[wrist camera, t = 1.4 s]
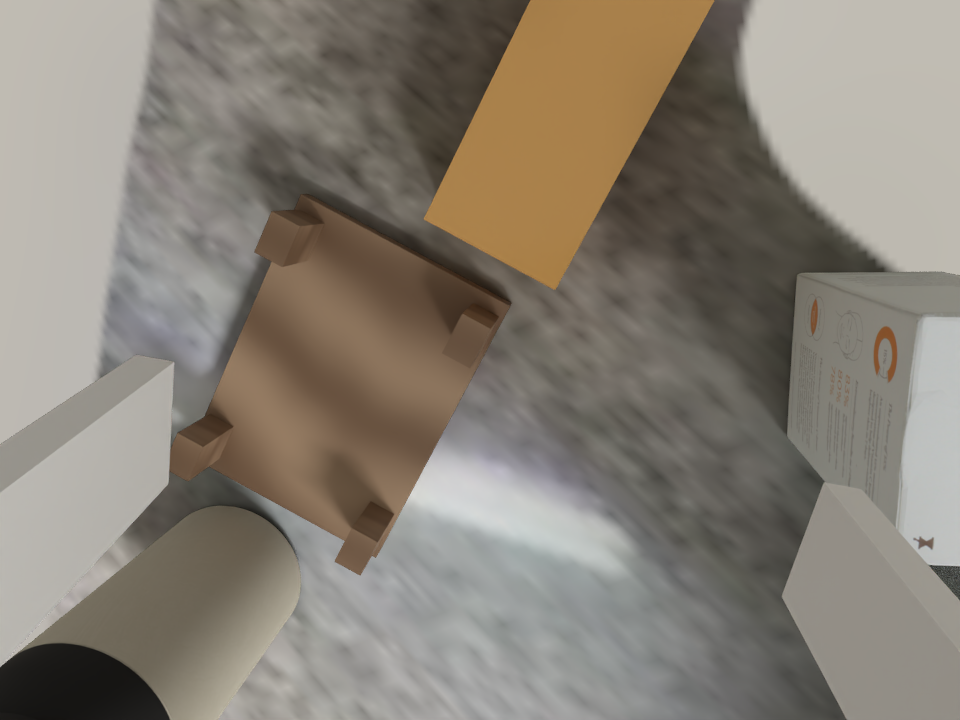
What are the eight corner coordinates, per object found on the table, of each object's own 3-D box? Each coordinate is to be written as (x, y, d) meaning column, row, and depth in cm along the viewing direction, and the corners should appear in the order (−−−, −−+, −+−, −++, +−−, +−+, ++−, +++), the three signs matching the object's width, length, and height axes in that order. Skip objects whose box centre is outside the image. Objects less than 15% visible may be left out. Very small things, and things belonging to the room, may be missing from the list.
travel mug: (157, 502, 42) (-152, 725, 24) (295, 503, 40) (76, 738, 23) (176, 632, 43) (-99, 929, 26) (310, 637, 42) (115, 950, 25)
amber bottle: (560, 274, 36) (554, 290, 30) (449, 214, 36) (423, 219, 30) (766, -102, 32) (806, -167, 26) (639, -168, 32) (651, -249, 26)
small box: (926, 441, 35) (1114, 579, 23) (784, 438, 36) (888, 570, 24) (944, 267, 34) (1159, 312, 21) (794, 268, 34) (914, 313, 22)
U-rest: (308, 193, 37) (273, 194, 33) (511, 303, 37) (502, 317, 32) (197, 448, 41) (153, 477, 37) (380, 548, 40) (357, 588, 36)
